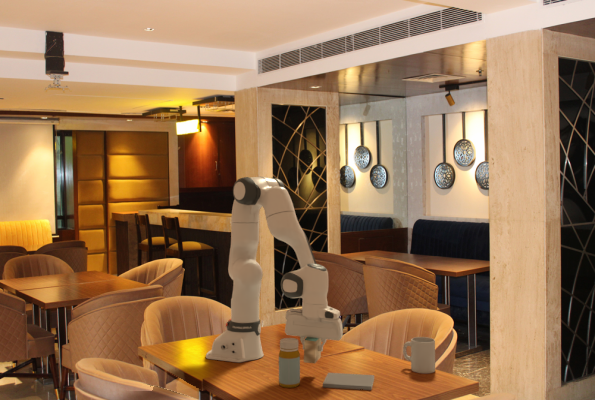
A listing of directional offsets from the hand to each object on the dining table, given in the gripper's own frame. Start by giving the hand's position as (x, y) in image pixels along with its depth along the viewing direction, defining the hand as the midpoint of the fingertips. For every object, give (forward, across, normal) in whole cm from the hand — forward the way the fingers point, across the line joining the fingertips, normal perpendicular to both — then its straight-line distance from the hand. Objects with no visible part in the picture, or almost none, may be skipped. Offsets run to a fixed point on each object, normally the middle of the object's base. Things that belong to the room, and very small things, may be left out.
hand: (312, 350), depth 201 cm
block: (+3, 0, 0) cm, 3 cm away
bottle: (+10, -5, -11) cm, 15 cm away
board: (+8, +14, -4) cm, 17 cm away
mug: (+7, +36, +17) cm, 40 cm away
